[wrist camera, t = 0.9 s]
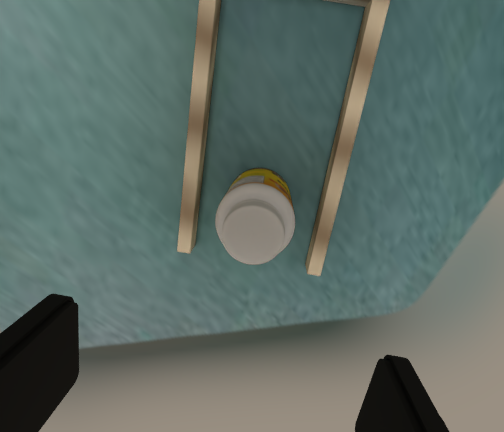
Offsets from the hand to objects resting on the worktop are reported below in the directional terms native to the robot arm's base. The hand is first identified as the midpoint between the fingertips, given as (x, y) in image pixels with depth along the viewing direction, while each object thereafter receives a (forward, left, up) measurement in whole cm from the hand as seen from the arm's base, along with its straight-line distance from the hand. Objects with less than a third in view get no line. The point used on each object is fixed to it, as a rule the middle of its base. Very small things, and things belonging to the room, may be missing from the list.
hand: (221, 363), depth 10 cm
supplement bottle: (0, 0, -21) cm, 21 cm away
